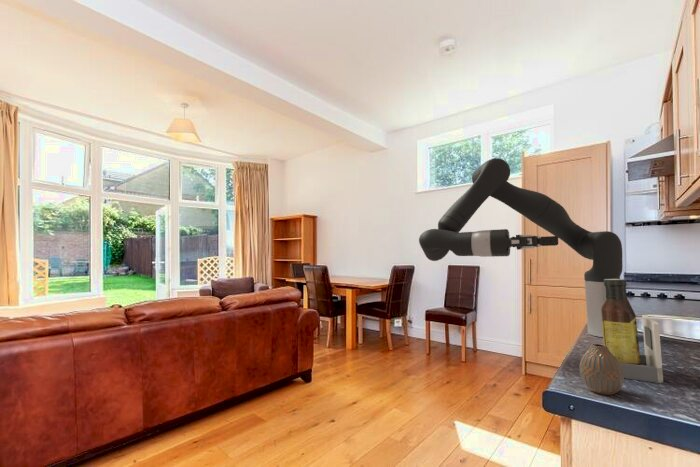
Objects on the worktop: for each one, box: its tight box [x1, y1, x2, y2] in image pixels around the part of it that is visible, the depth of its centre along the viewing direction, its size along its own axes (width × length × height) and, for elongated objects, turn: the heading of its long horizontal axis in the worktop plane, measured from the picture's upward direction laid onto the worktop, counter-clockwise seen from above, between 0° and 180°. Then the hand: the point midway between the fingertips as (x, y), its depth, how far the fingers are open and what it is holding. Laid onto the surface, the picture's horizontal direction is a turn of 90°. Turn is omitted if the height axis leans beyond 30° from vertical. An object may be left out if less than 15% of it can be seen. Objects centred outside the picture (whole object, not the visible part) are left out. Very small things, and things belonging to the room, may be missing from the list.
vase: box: [578, 343, 625, 396], centre depth 66 cm, size 7×7×9 cm
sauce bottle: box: [601, 278, 641, 365], centre depth 76 cm, size 7×6×20 cm
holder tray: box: [620, 314, 664, 384], centre depth 76 cm, size 10×11×12 cm
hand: (557, 240), depth 86 cm, fingers open, 8 cm apart
